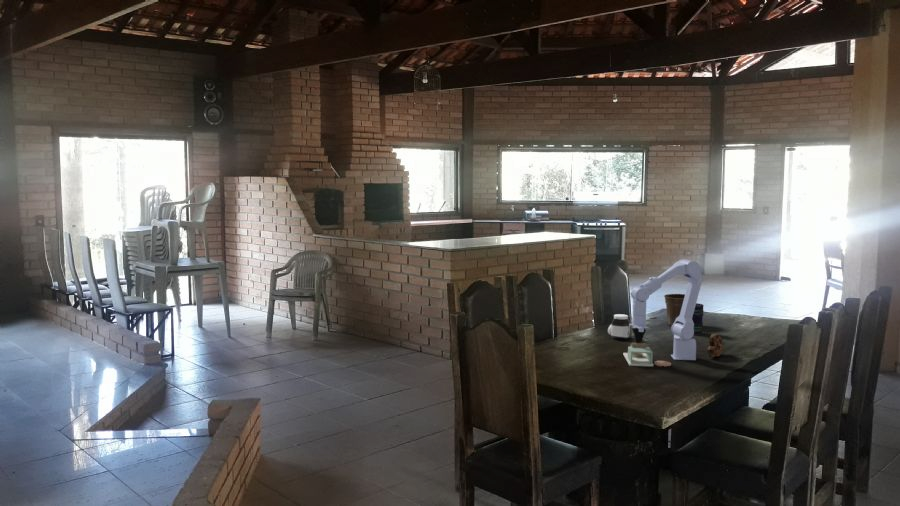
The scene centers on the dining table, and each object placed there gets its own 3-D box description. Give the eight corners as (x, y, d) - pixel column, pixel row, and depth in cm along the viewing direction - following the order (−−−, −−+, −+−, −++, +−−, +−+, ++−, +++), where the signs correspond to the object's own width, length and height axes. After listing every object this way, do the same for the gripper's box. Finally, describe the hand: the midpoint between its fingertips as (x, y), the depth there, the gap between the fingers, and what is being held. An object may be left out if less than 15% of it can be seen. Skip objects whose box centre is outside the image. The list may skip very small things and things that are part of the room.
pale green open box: (648, 358, 321) (649, 343, 320) (652, 363, 312) (652, 347, 311) (627, 357, 322) (628, 342, 321) (630, 363, 313) (631, 347, 312)
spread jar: (623, 341, 360) (624, 317, 359) (602, 338, 367) (602, 315, 365) (633, 336, 369) (633, 314, 368) (612, 334, 376) (613, 311, 375)
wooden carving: (717, 361, 321) (718, 338, 320) (706, 359, 324) (707, 337, 323) (724, 353, 335) (725, 332, 334) (714, 352, 338) (715, 330, 337)
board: (645, 355, 332) (645, 353, 331) (653, 366, 312) (653, 364, 312) (623, 354, 333) (623, 352, 332) (629, 365, 313) (629, 363, 313)
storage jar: (705, 335, 374) (706, 306, 372) (685, 335, 374) (687, 306, 372) (699, 331, 384) (700, 303, 382) (680, 330, 384) (681, 302, 382)
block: (640, 356, 329) (640, 345, 329) (642, 359, 325) (642, 348, 324) (630, 356, 330) (630, 345, 329) (631, 358, 325) (632, 347, 325)
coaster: (669, 362, 318) (669, 360, 318) (672, 366, 311) (672, 365, 311) (652, 362, 319) (653, 360, 319) (655, 366, 312) (655, 364, 312)
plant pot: (662, 327, 394) (663, 297, 392) (663, 321, 409) (664, 293, 407) (694, 329, 389) (695, 299, 387) (693, 323, 404) (695, 294, 403)
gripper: (627, 311, 328) (626, 340, 329) (632, 317, 313) (631, 348, 315) (643, 311, 327) (642, 341, 328) (649, 317, 313) (648, 348, 314)
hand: (638, 344), depth 321 cm, fingers closed
